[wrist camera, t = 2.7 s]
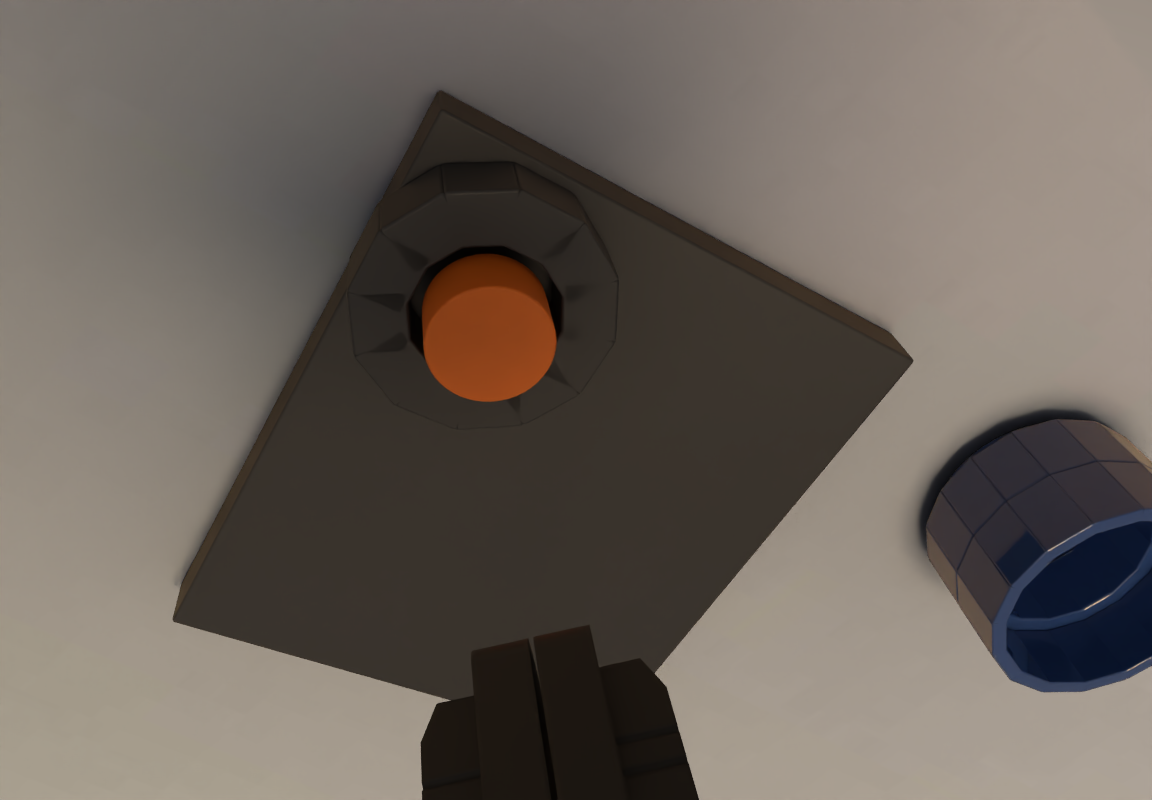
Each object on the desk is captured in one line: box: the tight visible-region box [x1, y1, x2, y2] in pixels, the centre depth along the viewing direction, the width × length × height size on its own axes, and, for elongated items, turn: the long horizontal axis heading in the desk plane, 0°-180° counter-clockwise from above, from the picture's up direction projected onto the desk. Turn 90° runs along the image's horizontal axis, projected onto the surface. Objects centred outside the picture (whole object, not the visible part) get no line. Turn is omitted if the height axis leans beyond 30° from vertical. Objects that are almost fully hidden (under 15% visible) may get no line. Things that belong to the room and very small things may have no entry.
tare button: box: [422, 254, 557, 402], centre depth 20 cm, size 3×3×2 cm
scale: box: [173, 91, 913, 700], centre depth 25 cm, size 15×13×3 cm
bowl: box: [926, 419, 1152, 692], centre depth 28 cm, size 6×6×4 cm
